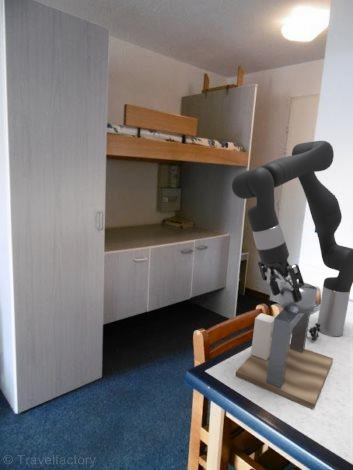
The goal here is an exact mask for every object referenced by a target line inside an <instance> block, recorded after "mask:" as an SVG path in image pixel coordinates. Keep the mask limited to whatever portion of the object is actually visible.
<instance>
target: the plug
mask: <svg viewBox="0 0 353 470" xmlns="http://www.w3.org/2000/svg"><path fill="white" fill-rule="evenodd" d="M275 317H276V316H272V315H268V314H266V313H262V312H261V313H259V314H257V316H255V318H254V324H253V325H254V326H253V333H252V341H251V351H250V356H251V355H254V356H256V357H259V358H262V359H264V360H267V359H268V358H269V355H270V348H271V340H272V333H273V325H274V318H275Z"/></svg>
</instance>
